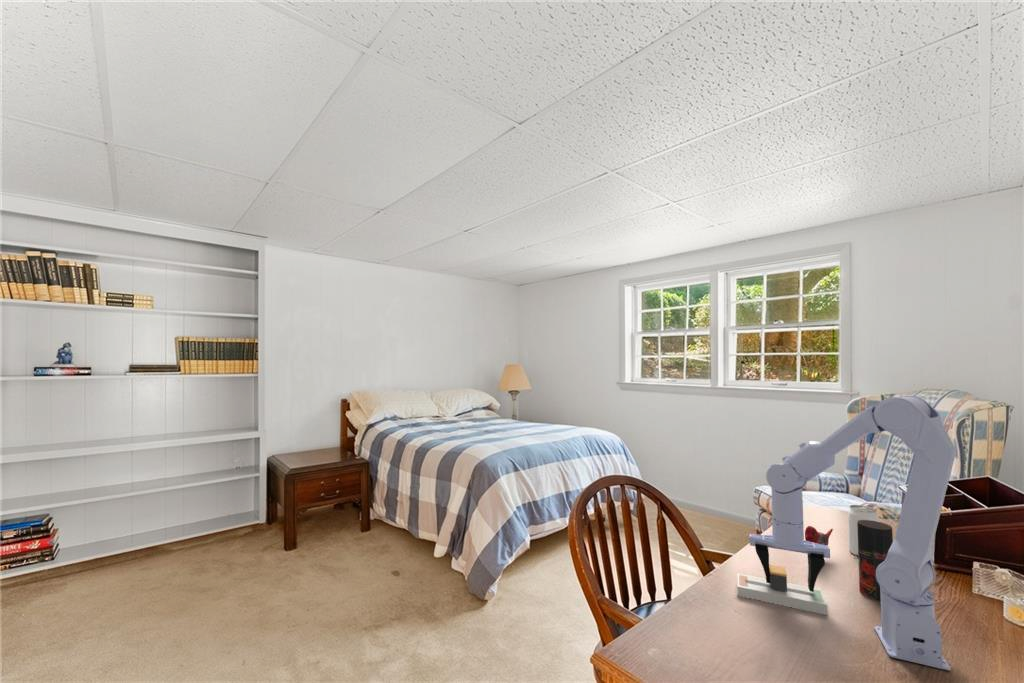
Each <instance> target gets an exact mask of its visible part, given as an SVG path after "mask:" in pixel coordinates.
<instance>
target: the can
mask: <svg viewBox="0 0 1024 683" xmlns="http://www.w3.org/2000/svg"><path fill="white" fill-rule="evenodd" d="M877 511H878V509H876V508H874V507H871V506H866V505H860V504H851V505H849V510H848V511H847V521H848V522H847V524H848V526H847V527H848V549H849V551H850V553H851V554H852V555H854V556H856V557H858V526H857V521H859V520H871V521H877V522H880V517H879V515H878V513H877Z"/></svg>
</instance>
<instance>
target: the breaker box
mask: <svg viewBox="0 0 1024 683" xmlns="http://www.w3.org/2000/svg"><path fill="white" fill-rule="evenodd" d="M736 575H737V586H736V587H737V590H736V591H737V597H740V596H743V597H742V598H744V597H748V598H747V599H749V598H752V599H751V600H754V599H757V600H756V601H758V600H761V601H760V602H763V601H765V603H768V602H769V603H768V604H772V603H774V604H773V605H777V604H778V606H782V605H783V606H782V607H787V608H791V607H792V609H798V610H802V611H806V612H810V611H812V612H811V613H816V614H819V615H820V614H821V615H824V616H828V614H829V613H828V603H827V600H826V598H825V595H824V593H823V590H822V589H821V588H818V587H817V588H816V587H814V592H812V591H809V588H808V585H802V584H795V583H790V582H787V591H782V590H777V589H772V588H770V583H766V577H759V576H754V575H749V574H744V573H743V574H742V573H736Z"/></svg>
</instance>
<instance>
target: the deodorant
mask: <svg viewBox="0 0 1024 683" xmlns="http://www.w3.org/2000/svg"><path fill="white" fill-rule="evenodd" d="M857 526H858V556H857V558H858V582H859V583H858V584H859V592H860V594H861V595H863V596H864V597H866V598H868V599H871V600H872V601H873V600H874V601H877V602H881V594H880V589H881V588H880V585H879V583H878V581H877V579H876V569H877V567H878V566H879V565H880V564H881V563H882V562H884V561H885V559H886V557H887V554H888V551H889V549H890V547H891V545H892V543H893V541H894V540H893V537H894V536H893V535H894V534H893V527H892V526H891V525H889V524H888V523H885V522H880V521H879V522H877V521H871V520H859V521H857Z"/></svg>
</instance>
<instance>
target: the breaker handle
mask: <svg viewBox="0 0 1024 683" xmlns="http://www.w3.org/2000/svg"><path fill="white" fill-rule="evenodd" d="M769 573H770V588H772V589H777V590H782V591H787V583H788V582H787V581H788V577H787V576H788V574H787V570H786V567H785V566H781V565H773V564H770V563H769Z"/></svg>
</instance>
